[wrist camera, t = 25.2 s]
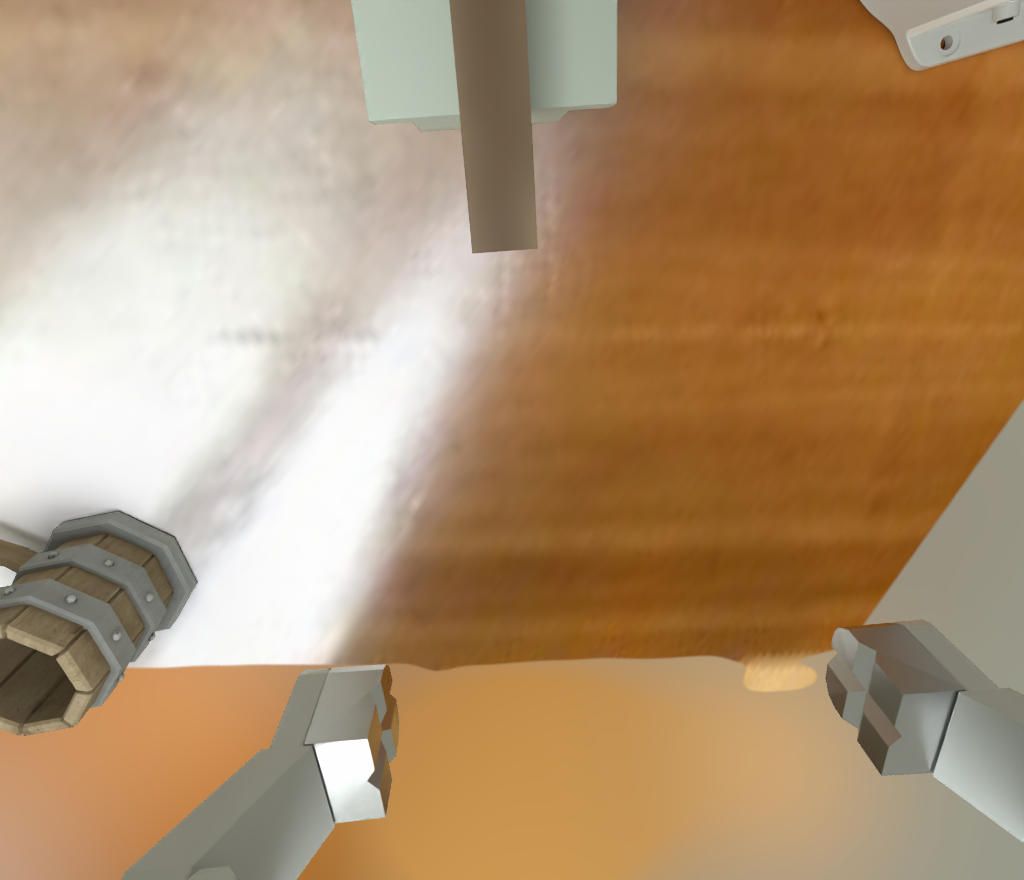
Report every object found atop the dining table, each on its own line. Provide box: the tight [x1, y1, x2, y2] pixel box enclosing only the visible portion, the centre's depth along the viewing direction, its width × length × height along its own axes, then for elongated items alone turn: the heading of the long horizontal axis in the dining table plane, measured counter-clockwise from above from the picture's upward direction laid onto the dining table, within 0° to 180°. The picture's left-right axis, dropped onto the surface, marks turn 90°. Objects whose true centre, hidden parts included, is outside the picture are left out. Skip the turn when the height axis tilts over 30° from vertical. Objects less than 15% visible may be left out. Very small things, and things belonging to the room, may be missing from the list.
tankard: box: [0, 511, 197, 736], centre depth 47 cm, size 20×13×15 cm, turn 56°
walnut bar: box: [449, 0, 538, 253], centre depth 24 cm, size 3×19×4 cm, turn 4°
